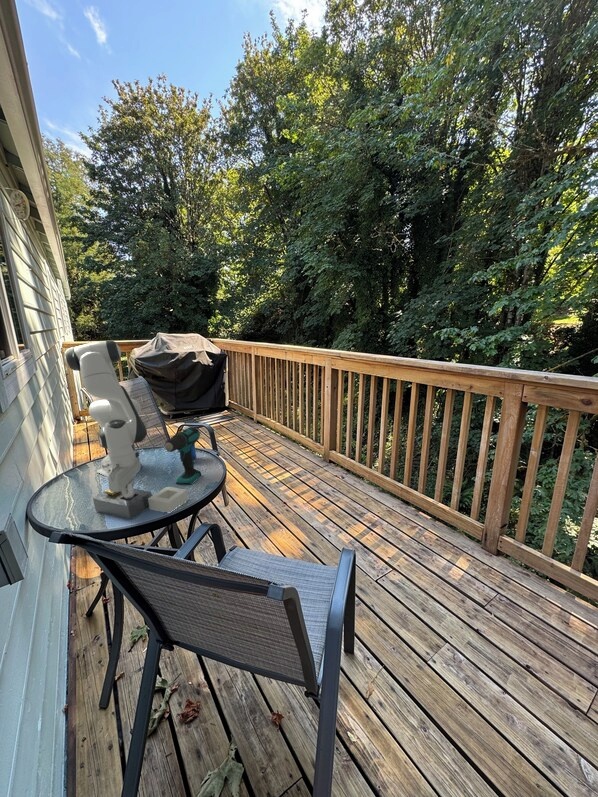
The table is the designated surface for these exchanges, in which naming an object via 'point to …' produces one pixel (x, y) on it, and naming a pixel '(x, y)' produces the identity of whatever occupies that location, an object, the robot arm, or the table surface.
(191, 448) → the blue upright block
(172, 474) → the table surface
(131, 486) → the metal cylinder
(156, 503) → the cream square open frame
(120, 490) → the wooden tenon block
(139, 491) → the socket block
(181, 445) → the power drill
